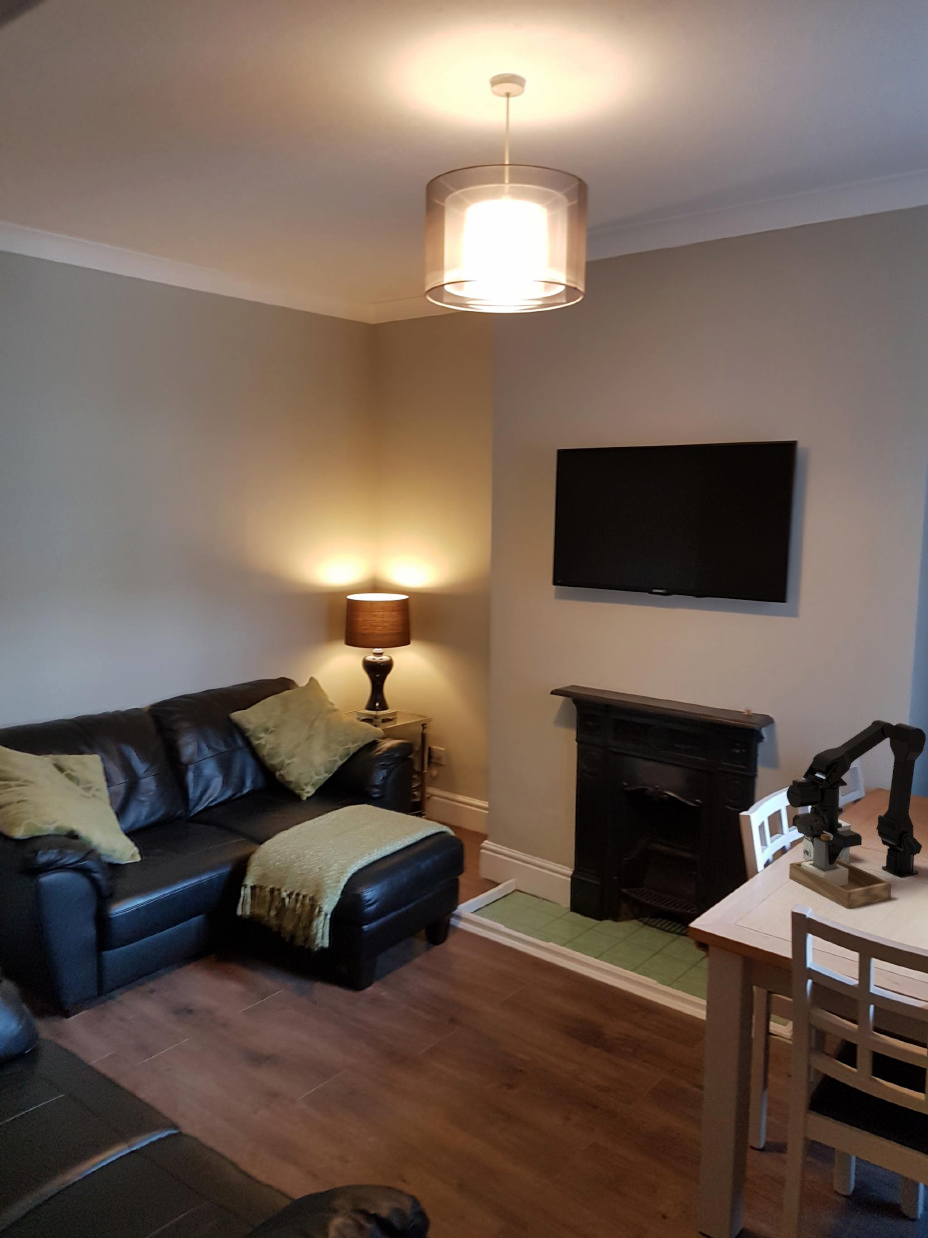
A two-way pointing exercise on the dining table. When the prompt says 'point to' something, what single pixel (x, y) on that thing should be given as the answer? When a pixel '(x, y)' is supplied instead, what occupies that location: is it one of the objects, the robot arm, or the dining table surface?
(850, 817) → the dining table surface
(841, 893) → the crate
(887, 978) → the dining table surface
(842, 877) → the inlet socket
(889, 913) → the dining table surface
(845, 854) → the light bulb box
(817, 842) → the block
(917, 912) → the dining table surface
